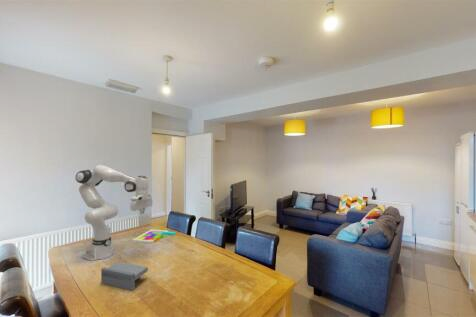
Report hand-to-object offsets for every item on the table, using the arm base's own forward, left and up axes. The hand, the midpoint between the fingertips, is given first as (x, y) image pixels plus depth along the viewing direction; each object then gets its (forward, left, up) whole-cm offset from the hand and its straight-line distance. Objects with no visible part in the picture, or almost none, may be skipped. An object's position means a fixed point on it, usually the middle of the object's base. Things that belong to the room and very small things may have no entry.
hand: (142, 213), depth 168 cm
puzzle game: (-17, +37, -35) cm, 54 cm away
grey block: (+14, -30, -34) cm, 48 cm away
